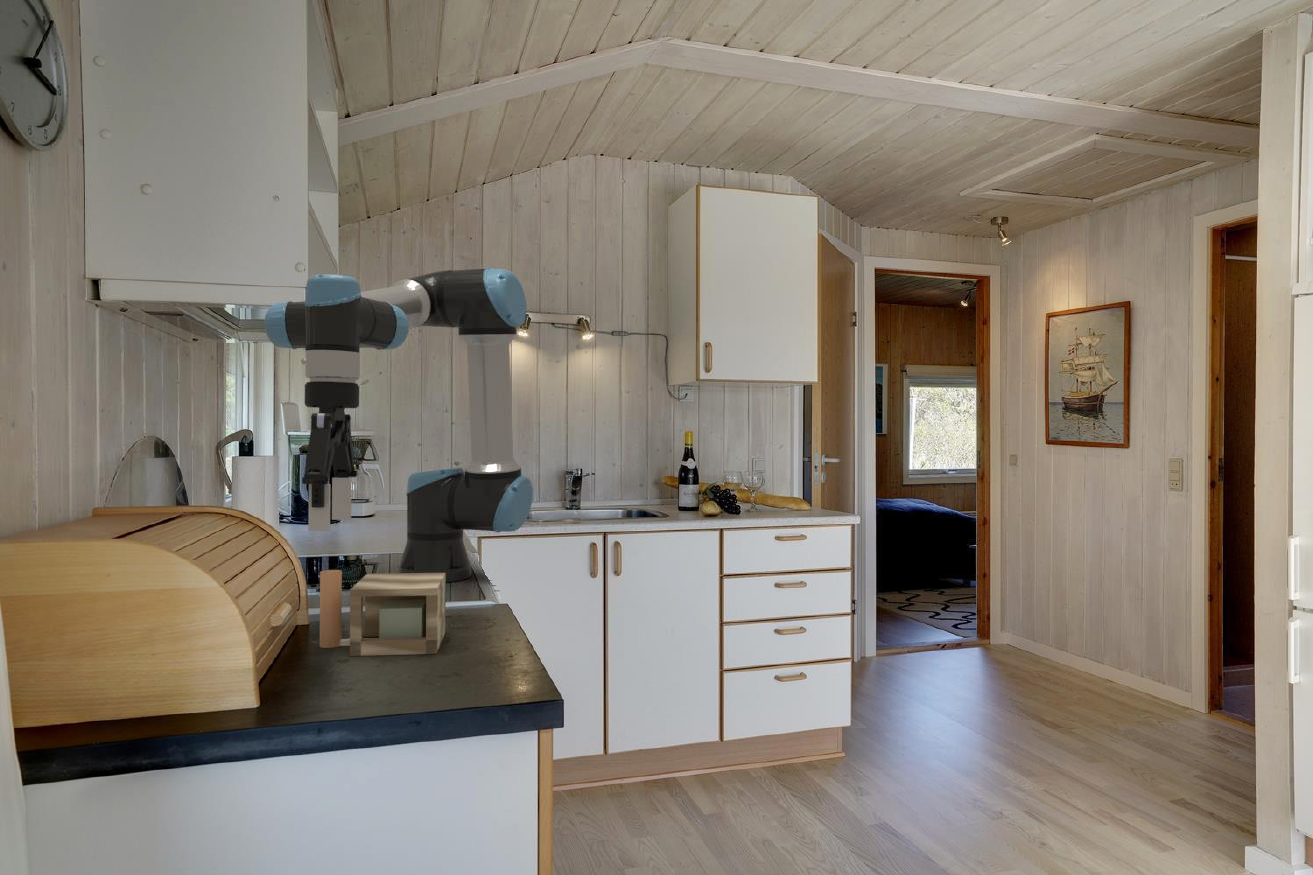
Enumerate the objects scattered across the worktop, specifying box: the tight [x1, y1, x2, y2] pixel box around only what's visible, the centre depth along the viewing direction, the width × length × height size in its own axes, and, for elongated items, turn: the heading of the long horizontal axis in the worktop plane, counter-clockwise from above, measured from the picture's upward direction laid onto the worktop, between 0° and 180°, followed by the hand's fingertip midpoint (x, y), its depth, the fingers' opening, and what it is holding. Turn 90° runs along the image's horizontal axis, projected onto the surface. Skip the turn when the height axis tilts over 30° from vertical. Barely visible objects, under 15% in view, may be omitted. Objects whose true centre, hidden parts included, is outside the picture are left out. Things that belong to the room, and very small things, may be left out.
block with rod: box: [319, 569, 426, 649], centre depth 123 cm, size 6×15×11 cm, turn 99°
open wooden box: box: [349, 572, 447, 657], centre depth 124 cm, size 12×12×10 cm
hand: (331, 525), depth 122 cm, fingers open, 13 cm apart
